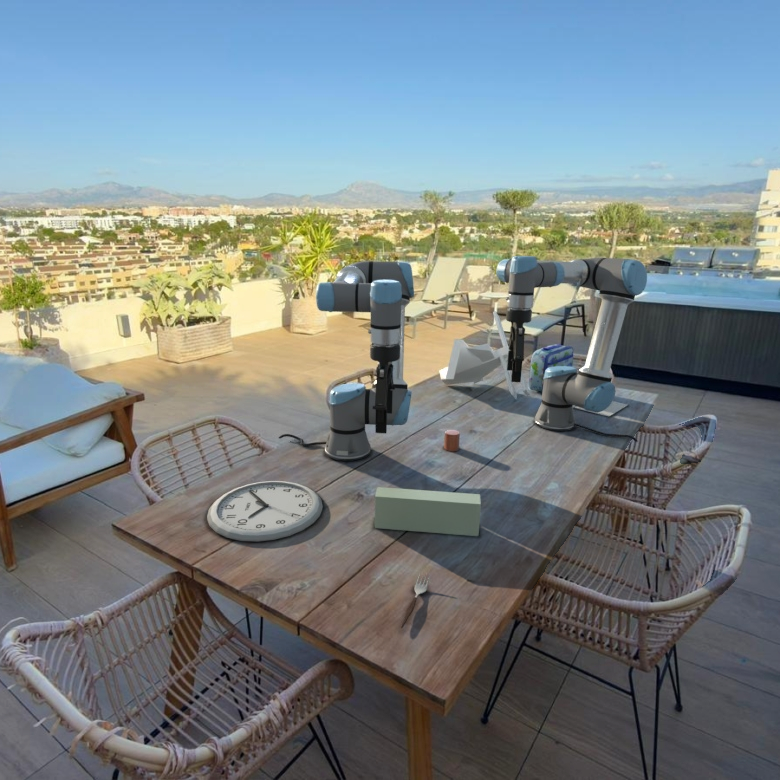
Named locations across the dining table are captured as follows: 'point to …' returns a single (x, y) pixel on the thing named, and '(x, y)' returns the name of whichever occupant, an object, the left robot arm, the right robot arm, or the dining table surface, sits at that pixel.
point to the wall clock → (264, 511)
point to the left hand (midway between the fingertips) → (384, 422)
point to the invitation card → (608, 409)
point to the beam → (427, 511)
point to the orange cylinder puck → (451, 440)
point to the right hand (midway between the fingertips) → (513, 375)
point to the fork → (419, 589)
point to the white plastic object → (479, 362)
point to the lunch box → (548, 363)
